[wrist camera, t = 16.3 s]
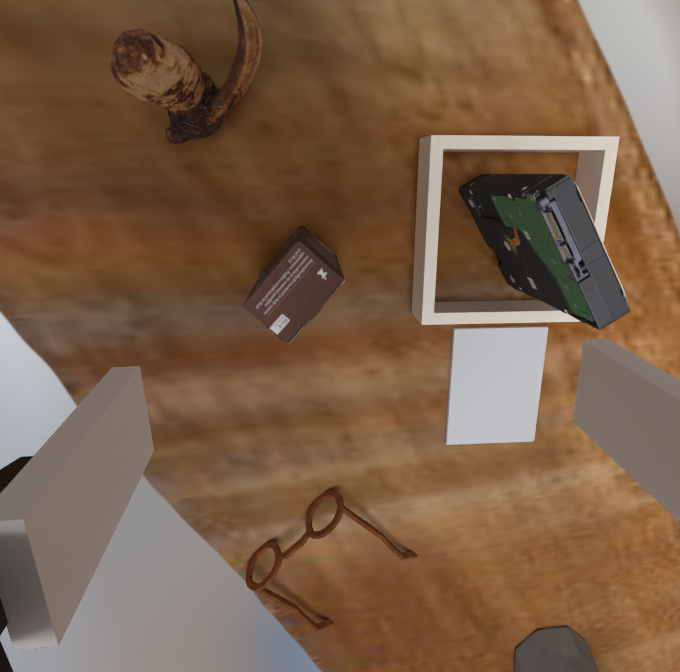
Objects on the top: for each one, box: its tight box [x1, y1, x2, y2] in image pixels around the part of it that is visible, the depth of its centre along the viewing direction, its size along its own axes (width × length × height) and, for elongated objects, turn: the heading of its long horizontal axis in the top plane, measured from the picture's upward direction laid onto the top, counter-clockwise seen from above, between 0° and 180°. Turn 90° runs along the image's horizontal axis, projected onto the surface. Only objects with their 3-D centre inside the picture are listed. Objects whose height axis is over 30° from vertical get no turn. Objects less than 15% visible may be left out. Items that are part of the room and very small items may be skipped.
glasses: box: [246, 490, 418, 631], centre depth 53 cm, size 13×13×5 cm
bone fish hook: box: [109, 0, 262, 143], centre depth 32 cm, size 9×5×18 cm, turn 113°
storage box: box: [412, 135, 619, 325], centre depth 44 cm, size 15×15×4 cm
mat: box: [445, 326, 548, 445], centre depth 50 cm, size 12×9×1 cm
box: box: [243, 226, 345, 344], centre depth 39 cm, size 6×4×12 cm
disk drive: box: [459, 174, 630, 330], centre depth 39 cm, size 10×3×15 cm, turn 32°
